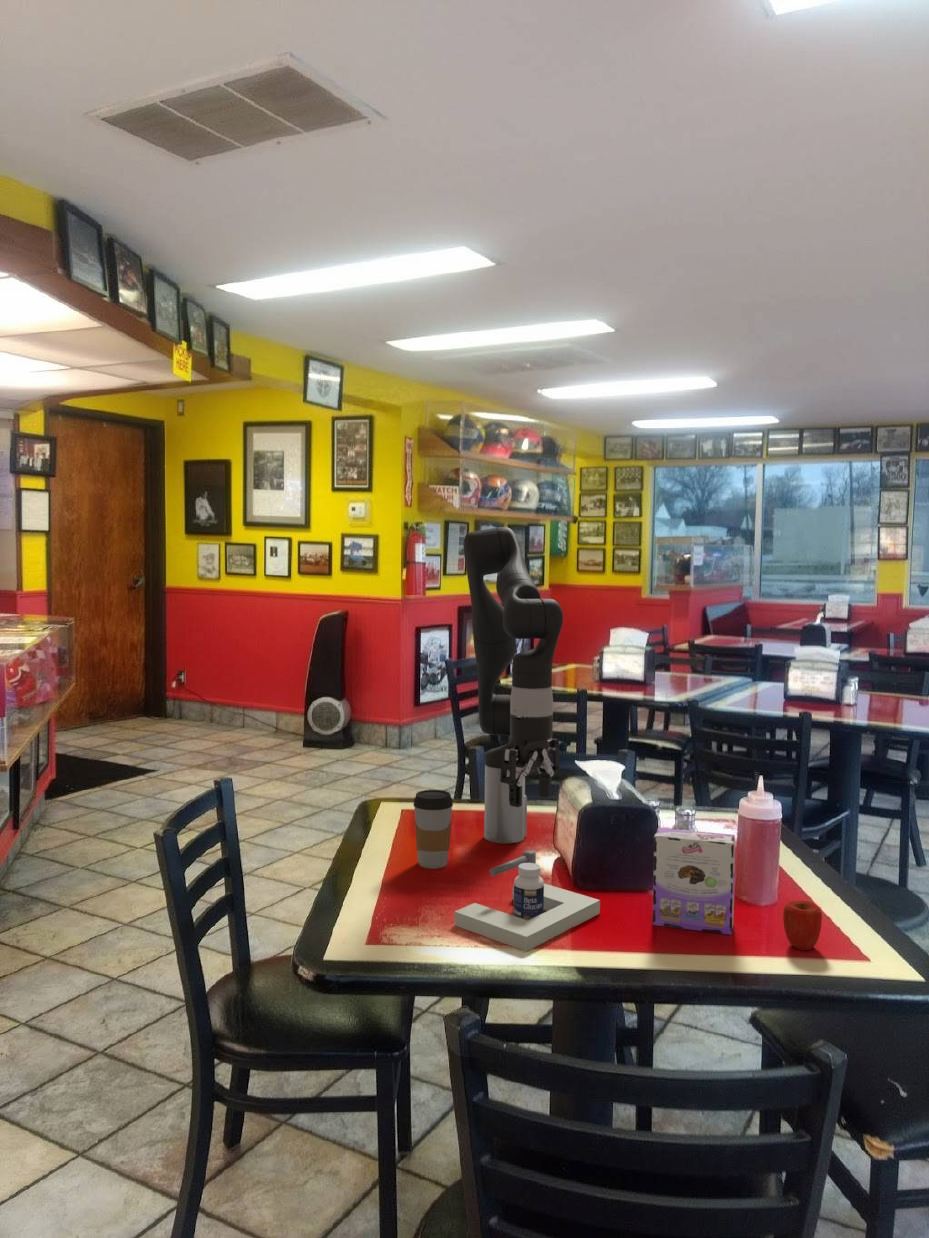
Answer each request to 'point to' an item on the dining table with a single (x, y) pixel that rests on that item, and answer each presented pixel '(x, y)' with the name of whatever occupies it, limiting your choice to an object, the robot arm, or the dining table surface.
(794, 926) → the apple
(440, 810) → the coffee cup
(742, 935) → the dining table surface
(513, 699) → the robot arm
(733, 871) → the candy box
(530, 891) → the pill bottle
